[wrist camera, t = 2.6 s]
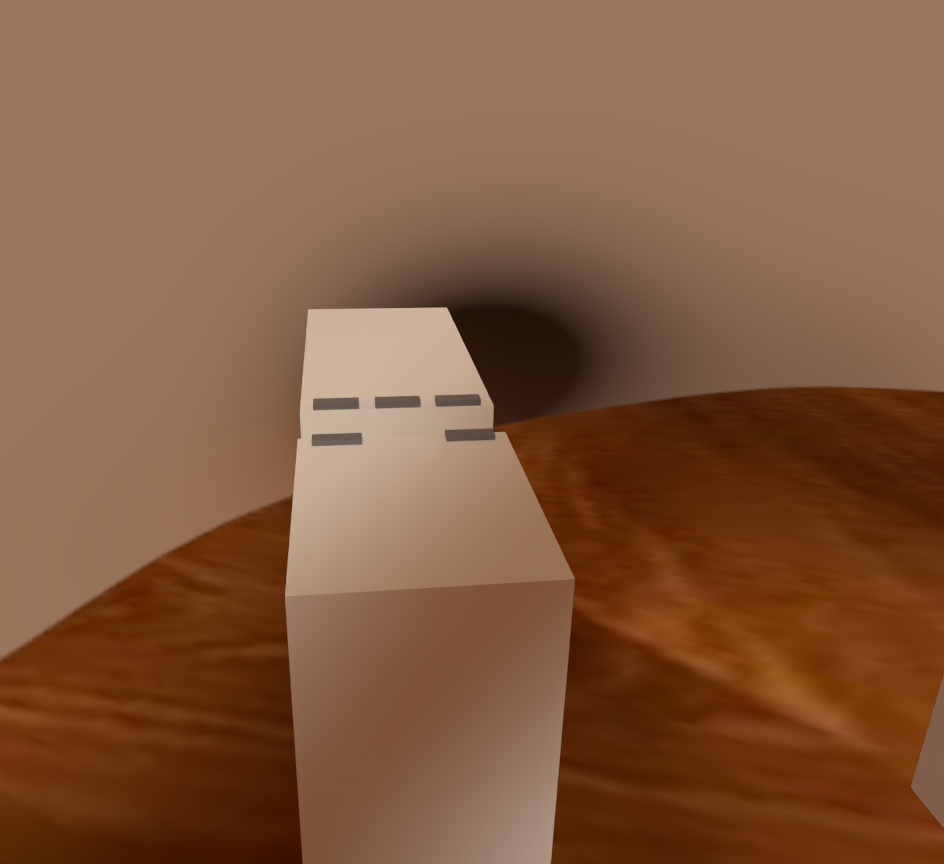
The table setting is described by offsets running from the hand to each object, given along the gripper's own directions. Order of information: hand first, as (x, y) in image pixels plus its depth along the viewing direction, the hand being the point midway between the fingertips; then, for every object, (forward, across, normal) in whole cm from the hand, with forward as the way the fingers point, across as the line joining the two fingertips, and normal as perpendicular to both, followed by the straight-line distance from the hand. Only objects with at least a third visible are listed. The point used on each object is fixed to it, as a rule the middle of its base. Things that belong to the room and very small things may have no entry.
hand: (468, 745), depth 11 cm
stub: (+11, 0, -14) cm, 18 cm away
